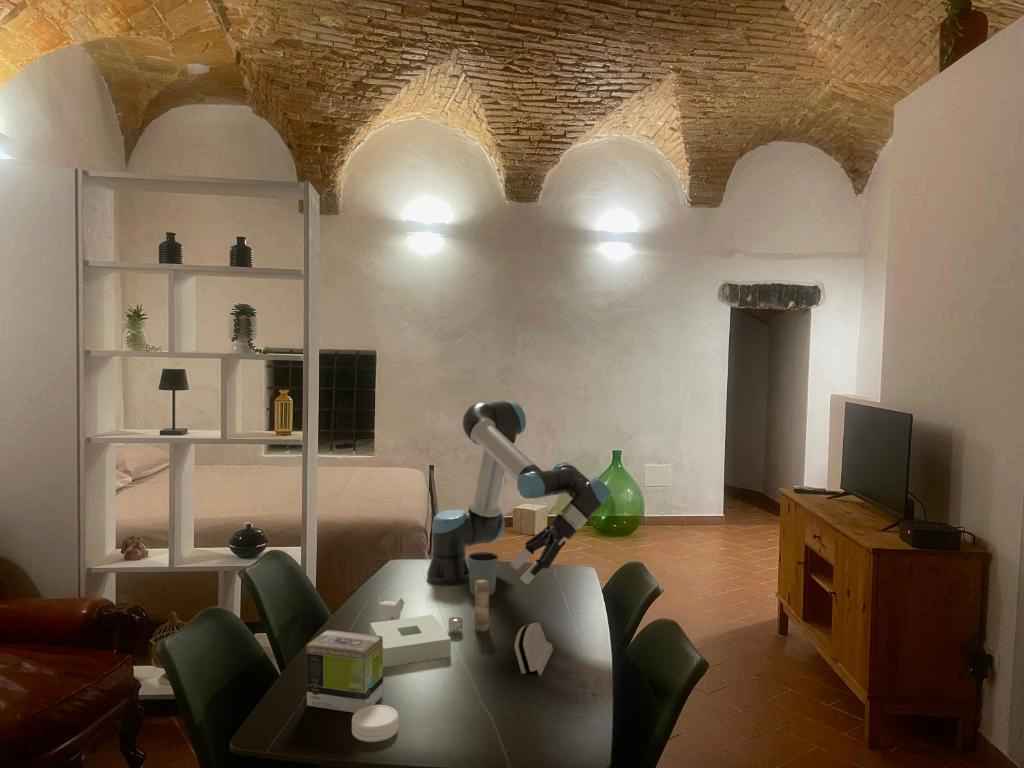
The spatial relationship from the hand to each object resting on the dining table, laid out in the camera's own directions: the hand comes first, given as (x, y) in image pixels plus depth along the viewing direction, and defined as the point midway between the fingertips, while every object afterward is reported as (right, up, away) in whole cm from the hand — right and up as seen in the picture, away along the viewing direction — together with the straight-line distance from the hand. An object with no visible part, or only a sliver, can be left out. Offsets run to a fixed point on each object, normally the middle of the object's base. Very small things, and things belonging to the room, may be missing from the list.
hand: (518, 574), depth 217 cm
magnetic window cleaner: (+4, -18, -21) cm, 28 cm away
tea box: (-41, -18, -44) cm, 63 cm away
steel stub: (-18, -16, -4) cm, 24 cm away
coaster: (-31, -20, -57) cm, 68 cm away
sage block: (-30, -16, -15) cm, 37 cm away
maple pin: (-11, -16, -1) cm, 19 cm away
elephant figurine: (-39, -15, +4) cm, 42 cm away
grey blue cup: (-12, -14, +31) cm, 36 cm away
